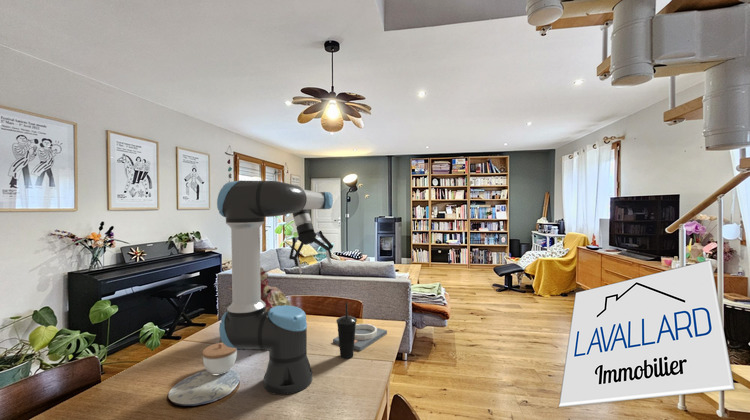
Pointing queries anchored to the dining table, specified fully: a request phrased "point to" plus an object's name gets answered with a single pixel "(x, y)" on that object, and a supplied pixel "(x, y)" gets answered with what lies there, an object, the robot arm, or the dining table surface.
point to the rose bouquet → (268, 295)
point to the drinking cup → (346, 335)
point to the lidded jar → (219, 358)
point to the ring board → (364, 342)
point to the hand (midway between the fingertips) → (316, 268)
